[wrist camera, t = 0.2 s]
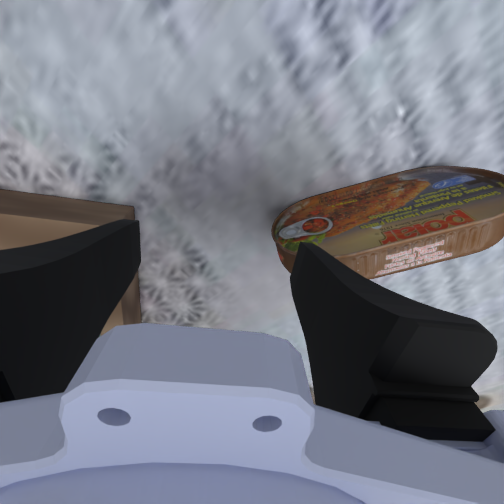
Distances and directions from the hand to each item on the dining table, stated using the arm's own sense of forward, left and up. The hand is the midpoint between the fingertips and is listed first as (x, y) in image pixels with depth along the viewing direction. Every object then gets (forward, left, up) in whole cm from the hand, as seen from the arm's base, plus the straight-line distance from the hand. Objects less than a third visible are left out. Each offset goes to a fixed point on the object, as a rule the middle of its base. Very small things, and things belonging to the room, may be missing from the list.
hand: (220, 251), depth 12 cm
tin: (+1, -11, -10) cm, 15 cm away
